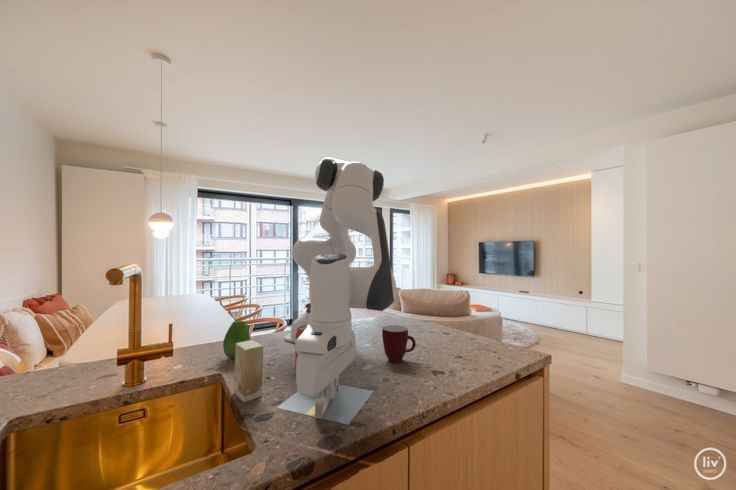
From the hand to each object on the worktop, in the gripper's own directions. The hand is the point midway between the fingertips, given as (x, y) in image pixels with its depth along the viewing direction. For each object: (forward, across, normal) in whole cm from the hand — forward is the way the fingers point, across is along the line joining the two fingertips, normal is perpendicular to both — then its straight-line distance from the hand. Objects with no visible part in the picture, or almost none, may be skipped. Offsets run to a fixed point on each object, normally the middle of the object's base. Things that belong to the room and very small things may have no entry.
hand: (330, 397), depth 63 cm
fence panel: (+3, -3, -2) cm, 5 cm away
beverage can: (+4, -19, -18) cm, 26 cm away
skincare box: (+4, 0, -22) cm, 22 cm away
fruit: (+4, -19, -43) cm, 47 cm away
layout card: (+4, -5, -3) cm, 7 cm away
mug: (+5, -36, +6) cm, 37 cm away
